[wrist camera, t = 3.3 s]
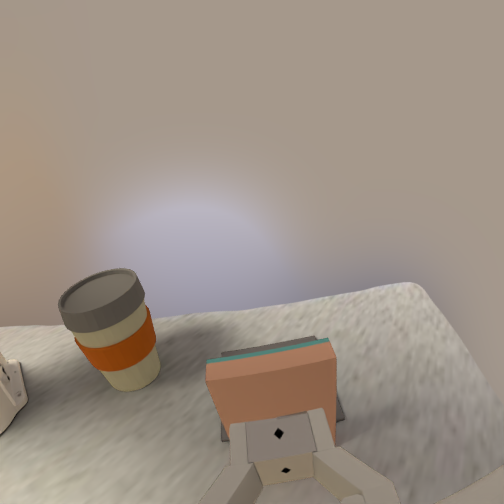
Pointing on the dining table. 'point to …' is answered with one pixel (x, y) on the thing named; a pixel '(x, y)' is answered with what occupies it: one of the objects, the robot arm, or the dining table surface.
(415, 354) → the dining table surface
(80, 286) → the reusable coffee cup
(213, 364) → the tile
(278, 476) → the robot arm
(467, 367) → the dining table surface
